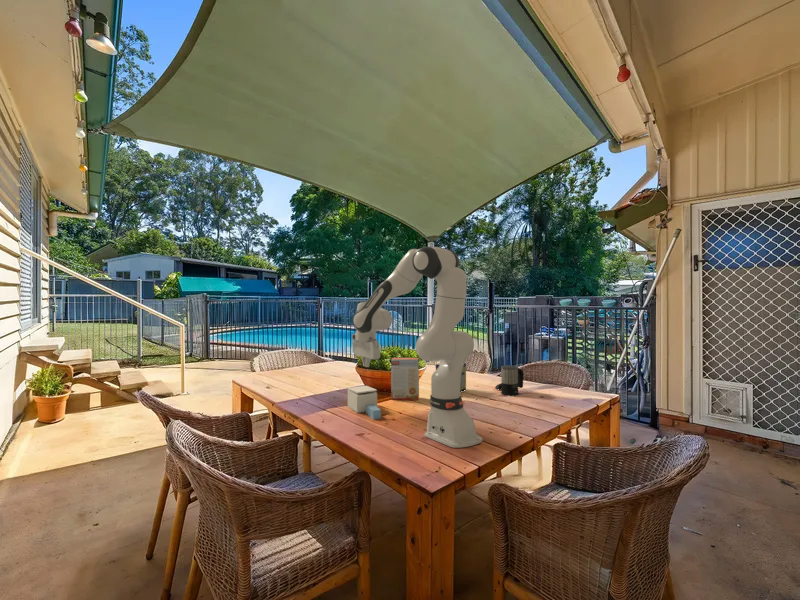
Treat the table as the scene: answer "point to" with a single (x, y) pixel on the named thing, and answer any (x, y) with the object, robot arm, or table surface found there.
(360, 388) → the lid flap
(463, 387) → the protein box
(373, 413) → the blue-gray rectangular block
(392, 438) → the table surface
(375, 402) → the carton
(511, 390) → the milk frother
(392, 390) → the cracker box
